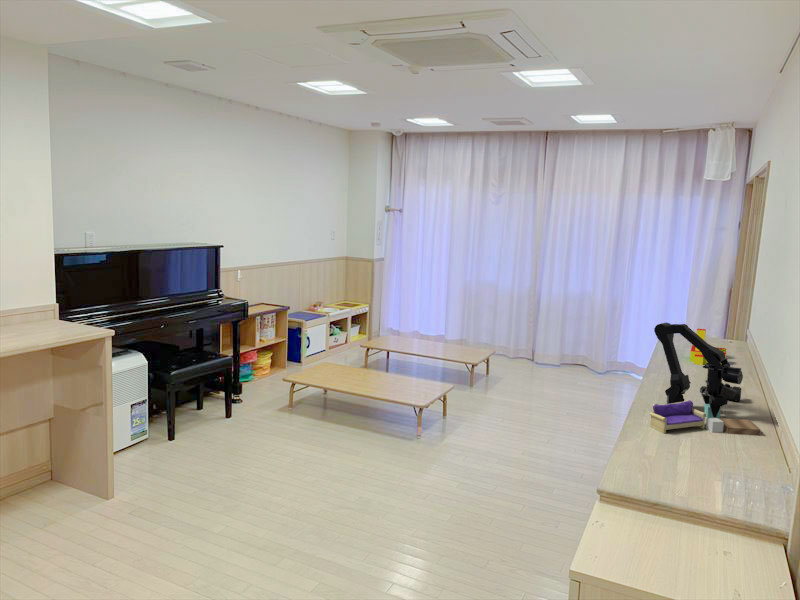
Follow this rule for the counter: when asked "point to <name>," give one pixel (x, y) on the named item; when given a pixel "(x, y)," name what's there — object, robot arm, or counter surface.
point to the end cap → (737, 395)
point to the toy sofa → (676, 416)
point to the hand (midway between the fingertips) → (711, 414)
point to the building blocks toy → (696, 354)
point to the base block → (740, 427)
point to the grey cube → (714, 425)
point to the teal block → (709, 413)
